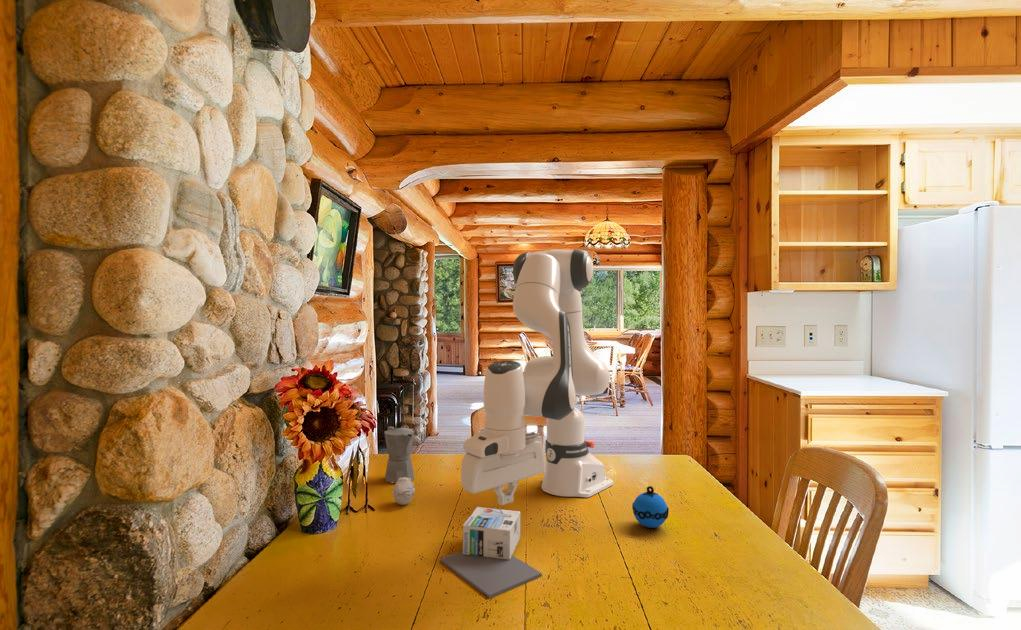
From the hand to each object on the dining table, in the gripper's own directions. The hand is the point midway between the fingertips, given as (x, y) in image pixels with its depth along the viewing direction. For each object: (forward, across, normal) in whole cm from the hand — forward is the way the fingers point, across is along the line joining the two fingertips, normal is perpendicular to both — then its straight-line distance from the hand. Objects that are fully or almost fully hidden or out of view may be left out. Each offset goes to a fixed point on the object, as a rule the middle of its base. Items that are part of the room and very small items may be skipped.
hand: (505, 502), depth 113 cm
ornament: (+14, -38, +8) cm, 42 cm away
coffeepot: (+14, -5, -63) cm, 64 cm away
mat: (+13, +5, 0) cm, 13 cm away
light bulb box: (+9, -4, -2) cm, 10 cm away
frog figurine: (+13, +3, -43) cm, 45 cm away
